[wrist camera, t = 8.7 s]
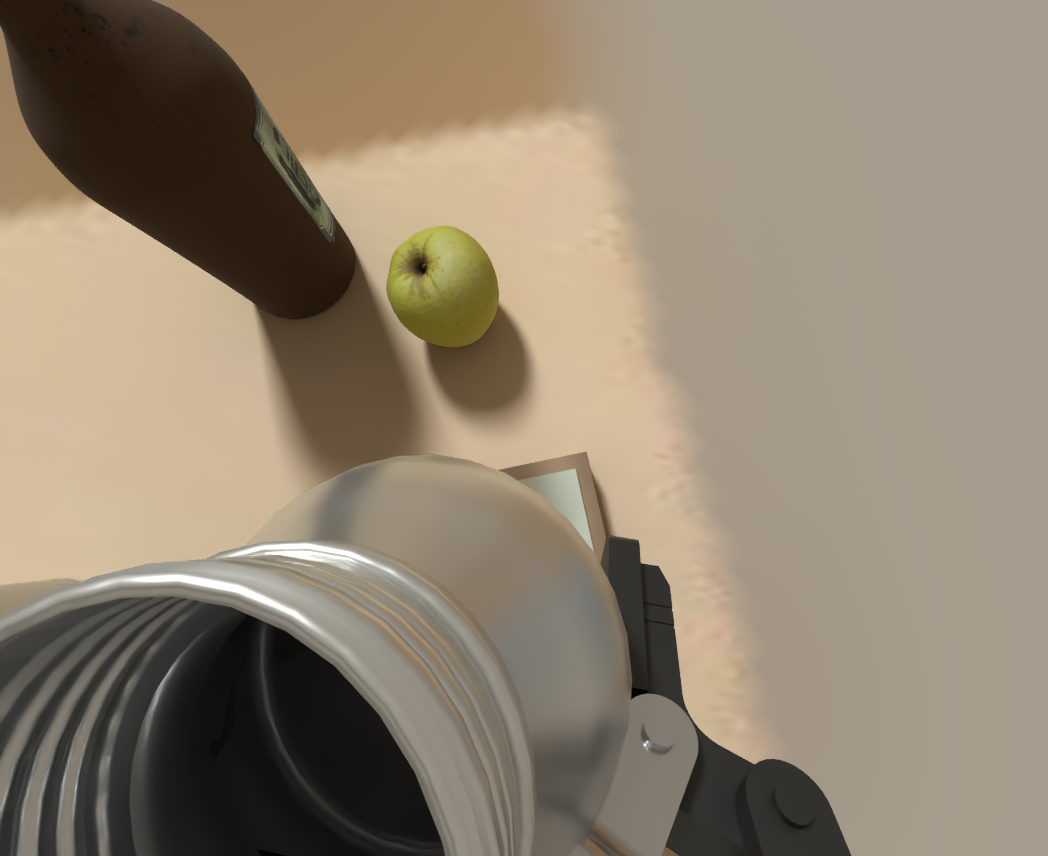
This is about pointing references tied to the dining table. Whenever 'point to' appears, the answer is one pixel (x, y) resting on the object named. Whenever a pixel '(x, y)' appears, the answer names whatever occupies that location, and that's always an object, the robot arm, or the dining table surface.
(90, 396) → the dining table surface
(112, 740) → the plastic bottle
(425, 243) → the apple
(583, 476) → the walnut base
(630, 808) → the robot arm
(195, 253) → the olive oil
